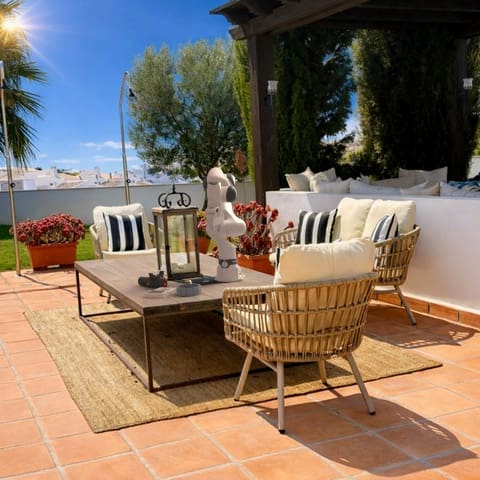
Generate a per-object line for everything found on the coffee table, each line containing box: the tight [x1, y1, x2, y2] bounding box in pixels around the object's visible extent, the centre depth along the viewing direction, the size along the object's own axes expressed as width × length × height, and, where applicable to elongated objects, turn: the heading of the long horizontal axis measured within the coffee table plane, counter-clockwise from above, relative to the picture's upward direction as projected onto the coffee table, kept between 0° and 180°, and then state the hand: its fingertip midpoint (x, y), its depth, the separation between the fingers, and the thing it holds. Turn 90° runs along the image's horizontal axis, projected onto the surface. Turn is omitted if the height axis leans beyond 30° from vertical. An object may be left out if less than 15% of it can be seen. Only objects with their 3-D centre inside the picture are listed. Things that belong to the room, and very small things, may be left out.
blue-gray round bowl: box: [175, 283, 202, 297], centre depth 363 cm, size 14×14×5 cm
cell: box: [184, 279, 193, 288], centre depth 363 cm, size 4×4×7 cm
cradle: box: [143, 287, 176, 299], centre depth 366 cm, size 21×12×3 cm, turn 162°
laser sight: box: [137, 270, 169, 289], centre depth 390 cm, size 10×22×10 cm, turn 49°
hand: (216, 232), depth 368 cm, fingers open, 8 cm apart
